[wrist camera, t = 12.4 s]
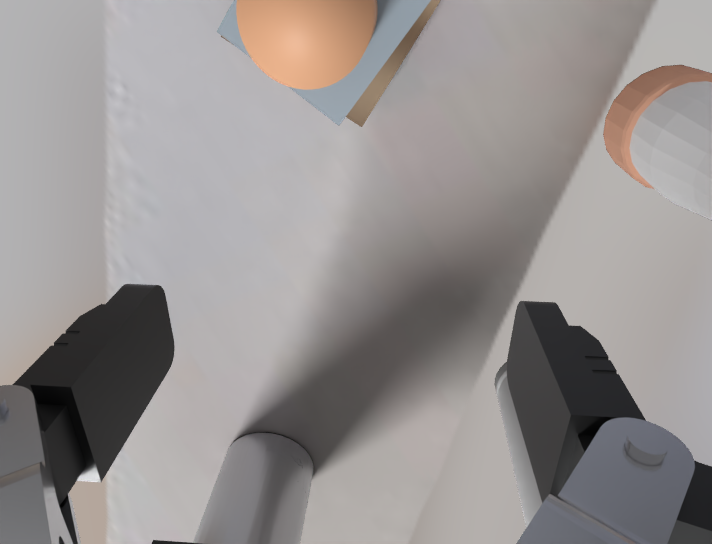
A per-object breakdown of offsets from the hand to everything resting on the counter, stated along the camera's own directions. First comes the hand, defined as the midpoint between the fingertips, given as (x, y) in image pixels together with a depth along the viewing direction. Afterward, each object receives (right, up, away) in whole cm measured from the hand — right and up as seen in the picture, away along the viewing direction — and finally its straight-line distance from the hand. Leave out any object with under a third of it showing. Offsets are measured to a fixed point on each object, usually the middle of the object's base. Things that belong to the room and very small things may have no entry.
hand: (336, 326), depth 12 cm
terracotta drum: (-1, +15, +15) cm, 21 cm away
